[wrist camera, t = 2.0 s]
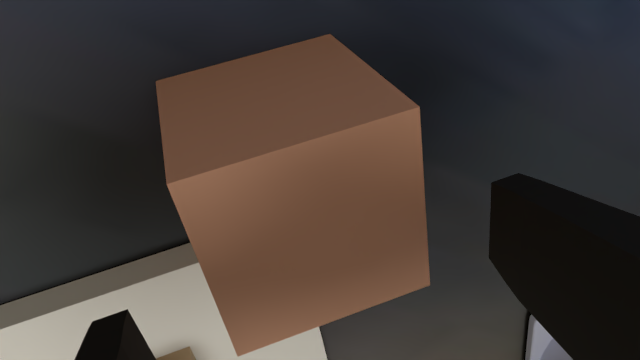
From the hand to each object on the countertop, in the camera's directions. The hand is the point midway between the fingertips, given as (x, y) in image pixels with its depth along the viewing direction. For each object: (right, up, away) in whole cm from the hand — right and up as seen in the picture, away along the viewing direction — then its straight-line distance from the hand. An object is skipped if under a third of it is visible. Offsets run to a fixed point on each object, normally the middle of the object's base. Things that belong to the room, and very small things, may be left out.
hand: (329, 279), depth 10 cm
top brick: (-2, +3, +4) cm, 5 cm away
